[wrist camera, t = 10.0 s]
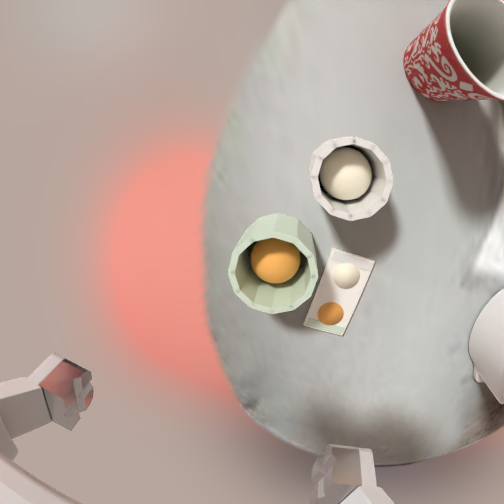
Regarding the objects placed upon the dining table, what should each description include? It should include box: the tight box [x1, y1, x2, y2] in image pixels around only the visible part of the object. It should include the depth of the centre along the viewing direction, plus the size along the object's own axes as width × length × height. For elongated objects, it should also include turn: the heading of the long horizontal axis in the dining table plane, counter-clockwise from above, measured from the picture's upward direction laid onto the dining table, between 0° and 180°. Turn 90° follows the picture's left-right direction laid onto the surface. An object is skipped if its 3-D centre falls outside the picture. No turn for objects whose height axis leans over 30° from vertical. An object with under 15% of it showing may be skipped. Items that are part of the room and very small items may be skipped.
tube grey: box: [308, 136, 393, 221], centre depth 28 cm, size 7×7×7 cm
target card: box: [303, 247, 375, 336], centre depth 36 cm, size 5×10×1 cm, turn 166°
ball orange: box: [251, 238, 300, 283], centre depth 33 cm, size 5×5×5 cm
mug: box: [404, 0, 504, 101], centre depth 19 cm, size 13×9×14 cm
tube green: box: [228, 213, 318, 314], centre depth 32 cm, size 8×8×7 cm
